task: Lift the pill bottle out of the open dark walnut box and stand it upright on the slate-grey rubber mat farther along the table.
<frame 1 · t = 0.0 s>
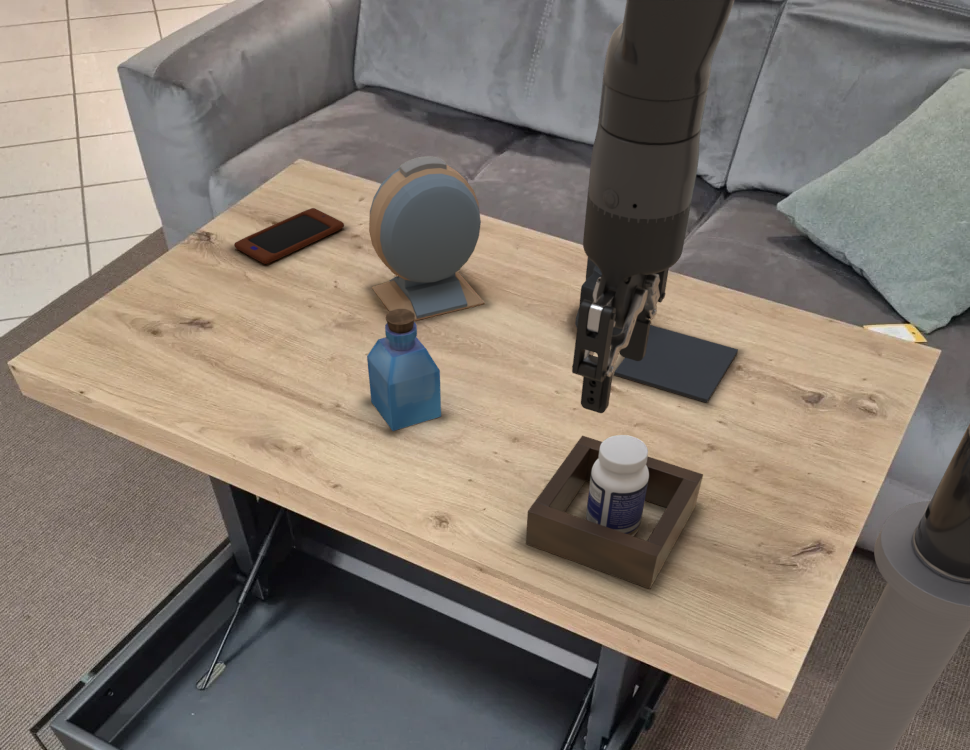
hand: (613, 381, 80), 20 cm above the table, tool pointing down, fingers open, 8 cm apart
smartphone: (290, 239, 135), on the table
walnut box: (612, 525, 98), on the table
alarm clock: (427, 297, 126), on the table
black vase: (603, 330, 122), on the table
pill bottle: (611, 526, 98), resting in walnut box
perfume bottle: (406, 410, 110), on the table
rubber mat: (676, 363, 117), on the table
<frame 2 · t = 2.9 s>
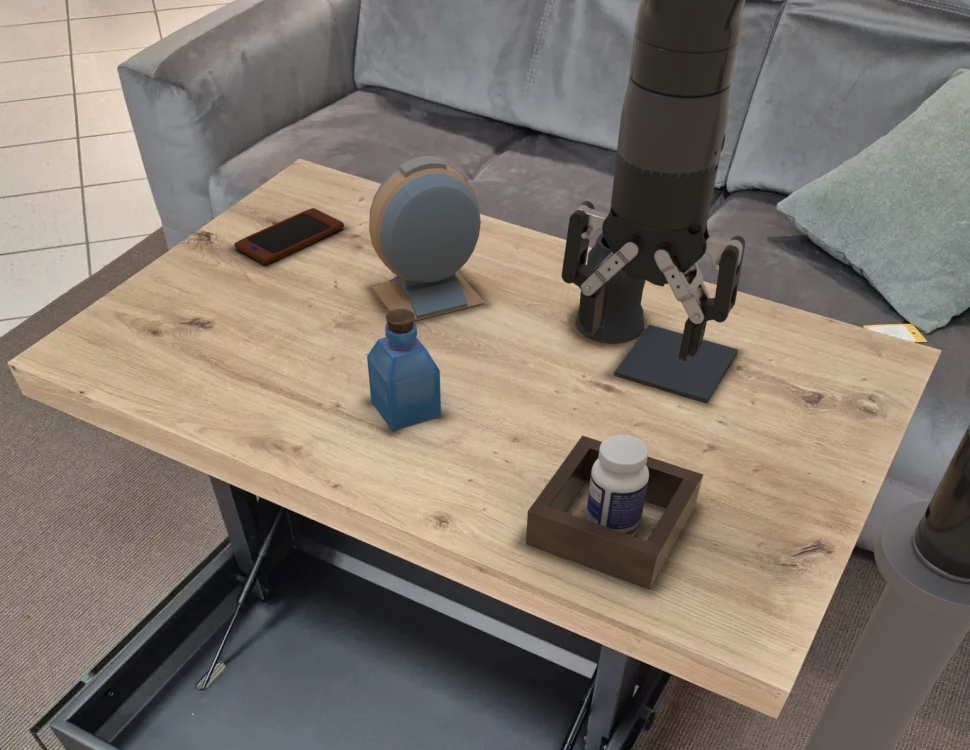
hand: (638, 343, 81), 22 cm above the table, tool pointing down, fingers open, 8 cm apart
nothing on the table moved.
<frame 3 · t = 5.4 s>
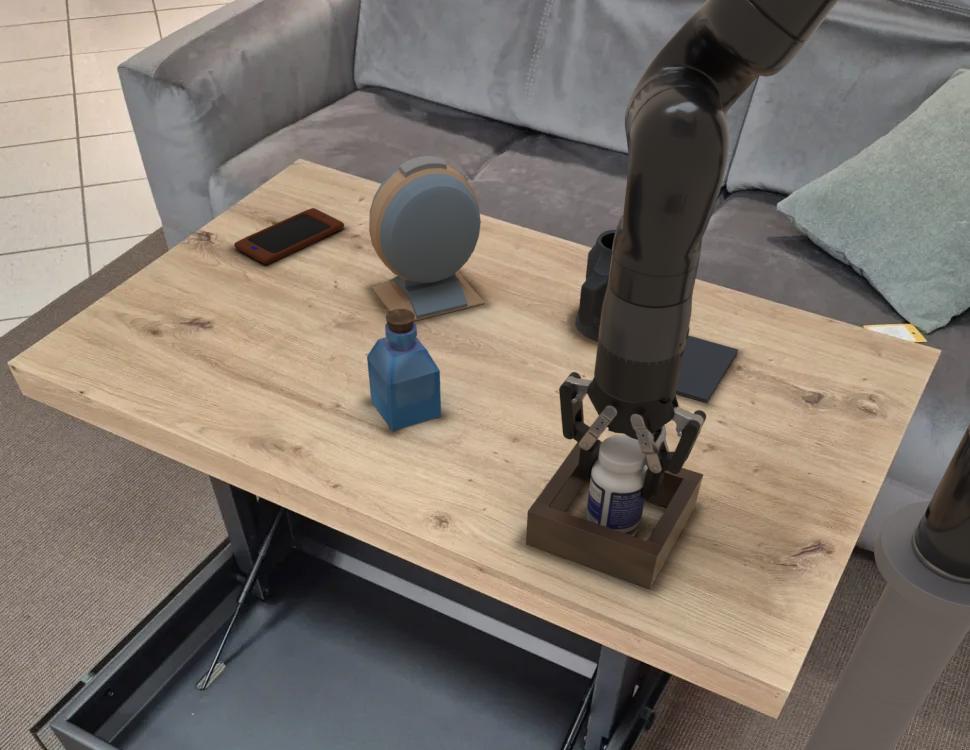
hand: (618, 484, 94), 6 cm above the table, tool pointing down, fingers closed on pill bottle, 5 cm apart
pill bottle: (611, 526, 98), resting in walnut box, touching gripper
everything else where it was.
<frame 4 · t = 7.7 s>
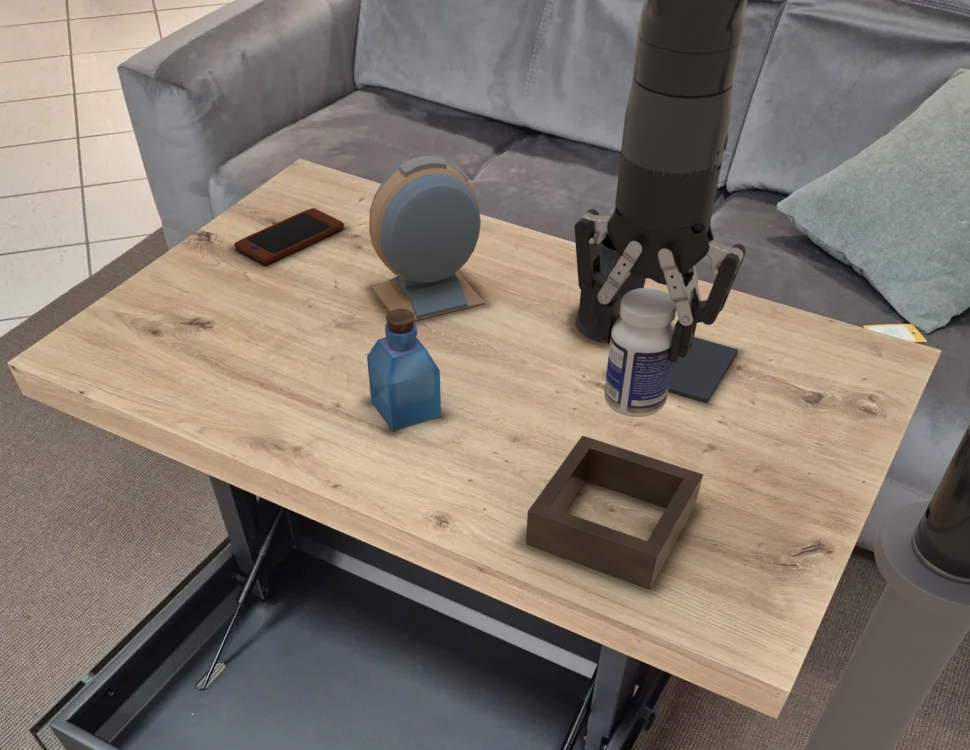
hand: (642, 347, 82), 21 cm above the table, tool pointing down, fingers closed on pill bottle, 5 cm apart
pill bottle: (634, 402, 87), point 15 cm above the table, touching gripper
everything else where it was.
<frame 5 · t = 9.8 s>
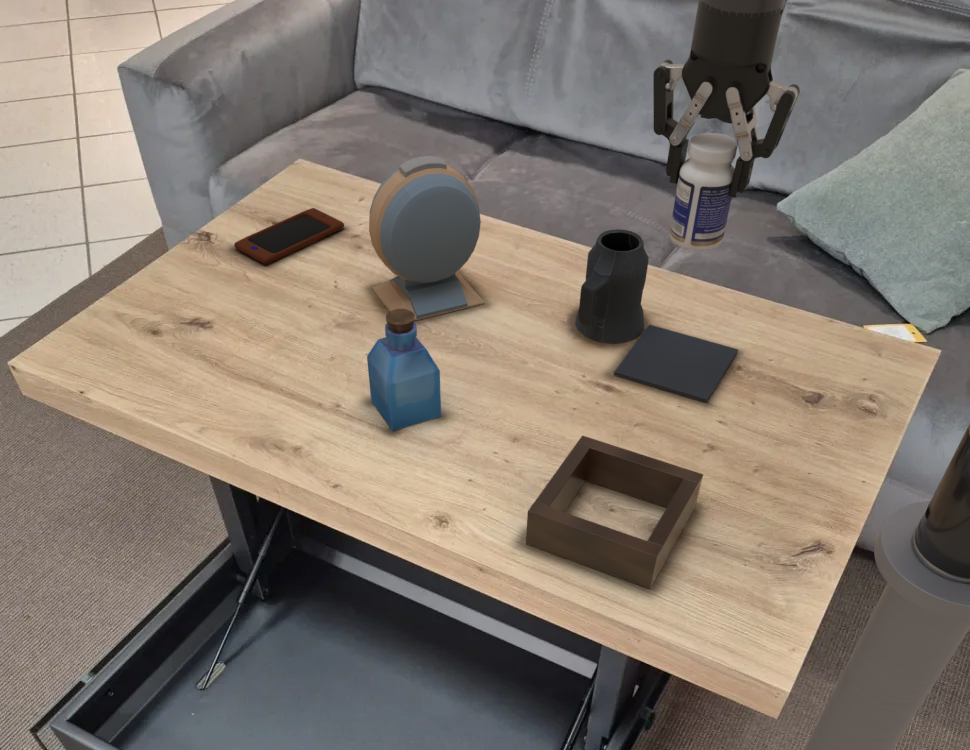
hand: (705, 186, 96), 24 cm above the table, tool pointing down, fingers closed on pill bottle, 5 cm apart
pill bottle: (694, 241, 100), point 18 cm above the table, touching gripper
everything else where it was.
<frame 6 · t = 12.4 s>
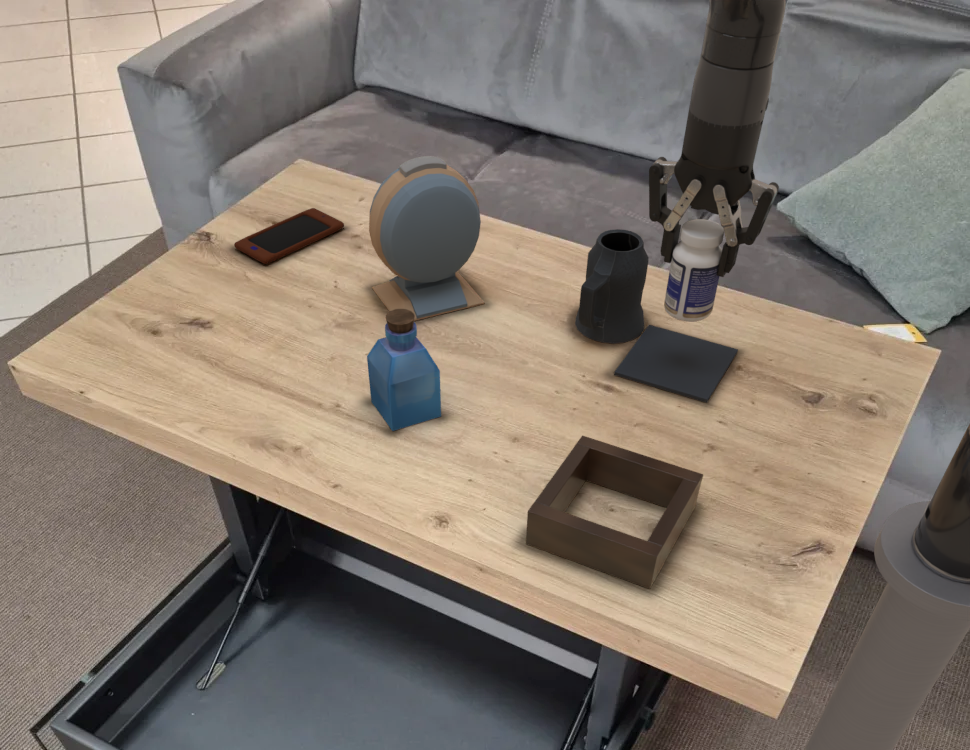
hand: (696, 266, 107), 13 cm above the table, tool pointing down, fingers closed on pill bottle, 5 cm apart
pill bottle: (686, 312, 111), point 7 cm above the table, touching gripper
everything else where it was.
when the fingers open (6 cm above the table, at t = 14.5 s): pill bottle stays where it is, resting on rubber mat.
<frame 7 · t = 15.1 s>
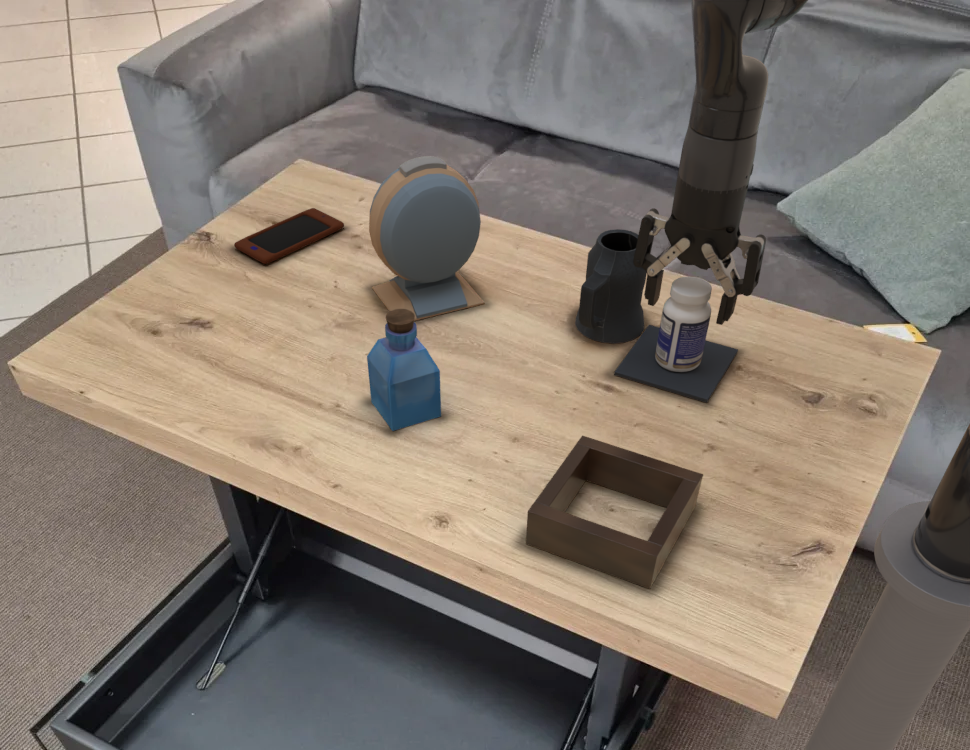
hand: (687, 311, 111), 7 cm above the table, tool pointing down, fingers open, 8 cm apart
pill bottle: (677, 362, 117), resting on rubber mat
everything else where it was.
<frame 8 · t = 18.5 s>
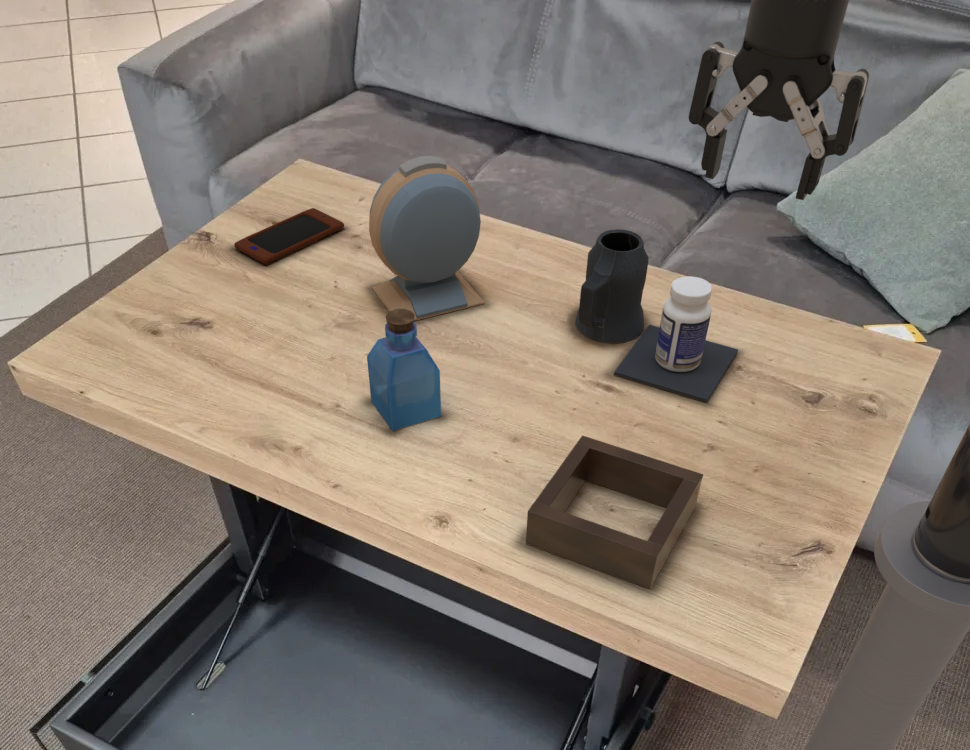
hand: (756, 185, 86), 28 cm above the table, tool pointing down, fingers open, 8 cm apart
nothing on the table moved.
at the end: pill bottle inside the target area on the rubber mat (0.1 cm from its centre), point 0.3 cm above the rubber mat's base; pill bottle tilted 0°; the gripper is holding nothing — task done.
